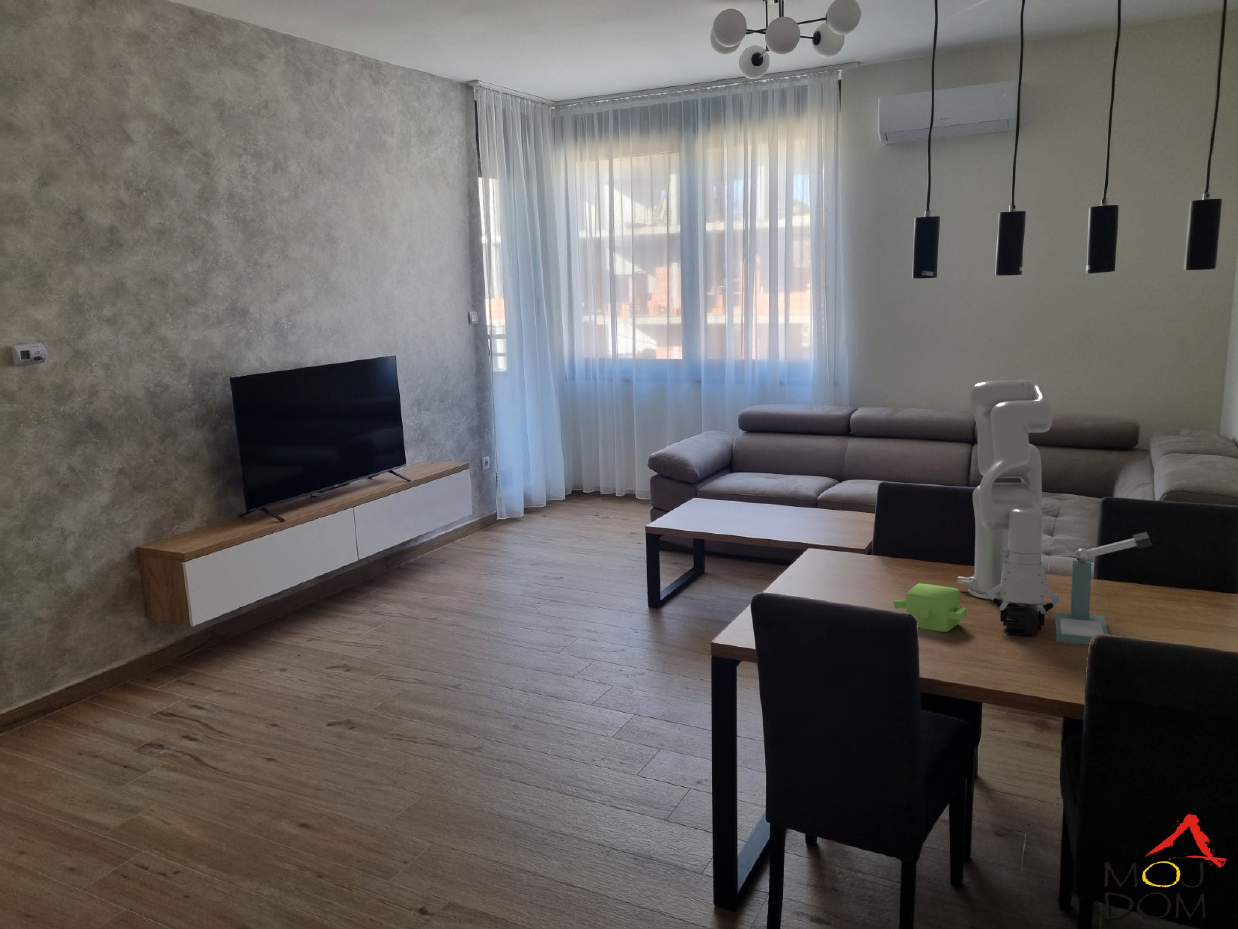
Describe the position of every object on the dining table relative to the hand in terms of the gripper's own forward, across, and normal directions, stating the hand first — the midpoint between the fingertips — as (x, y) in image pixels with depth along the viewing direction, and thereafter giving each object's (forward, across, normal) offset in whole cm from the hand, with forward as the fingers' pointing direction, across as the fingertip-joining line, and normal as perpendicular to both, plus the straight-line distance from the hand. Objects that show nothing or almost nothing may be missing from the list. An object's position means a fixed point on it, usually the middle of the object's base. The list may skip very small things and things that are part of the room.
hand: (1022, 625), depth 219 cm
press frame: (+1, +13, +3) cm, 13 cm away
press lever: (-18, +20, +9) cm, 28 cm away
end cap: (+1, 0, 0) cm, 1 cm away
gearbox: (+2, -22, -3) cm, 22 cm away
